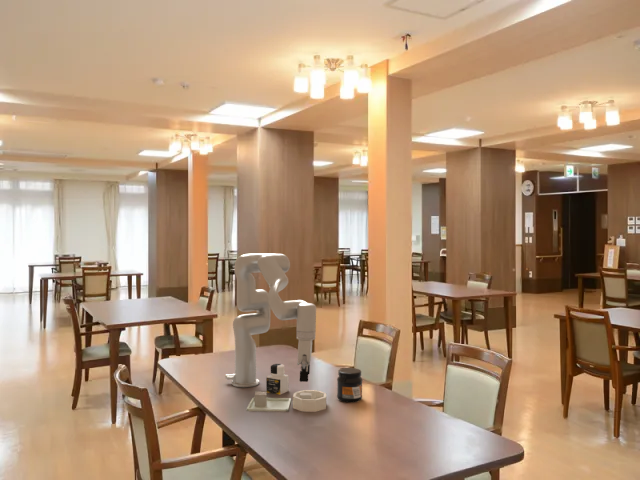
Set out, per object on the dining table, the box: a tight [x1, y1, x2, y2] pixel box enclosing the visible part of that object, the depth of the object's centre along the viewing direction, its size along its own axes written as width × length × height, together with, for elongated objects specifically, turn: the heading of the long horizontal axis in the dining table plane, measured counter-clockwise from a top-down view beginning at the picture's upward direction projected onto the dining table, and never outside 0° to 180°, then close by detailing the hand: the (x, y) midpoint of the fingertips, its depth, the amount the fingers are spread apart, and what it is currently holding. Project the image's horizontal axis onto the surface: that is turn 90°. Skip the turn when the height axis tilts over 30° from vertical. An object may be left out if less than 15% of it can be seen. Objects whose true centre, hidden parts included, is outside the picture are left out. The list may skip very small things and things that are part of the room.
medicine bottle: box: [265, 363, 290, 396], centre depth 236 cm, size 7×7×12 cm
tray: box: [246, 397, 292, 413], centre depth 217 cm, size 16×14×1 cm
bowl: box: [292, 389, 327, 413], centre depth 217 cm, size 13×13×5 cm
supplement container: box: [336, 367, 363, 403], centre depth 227 cm, size 10×10×12 cm
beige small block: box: [254, 391, 268, 407], centre depth 217 cm, size 4×4×5 cm
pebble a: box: [300, 393, 311, 399], centre depth 215 cm, size 4×4×5 cm
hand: (304, 377), depth 216 cm, fingers open, 9 cm apart
